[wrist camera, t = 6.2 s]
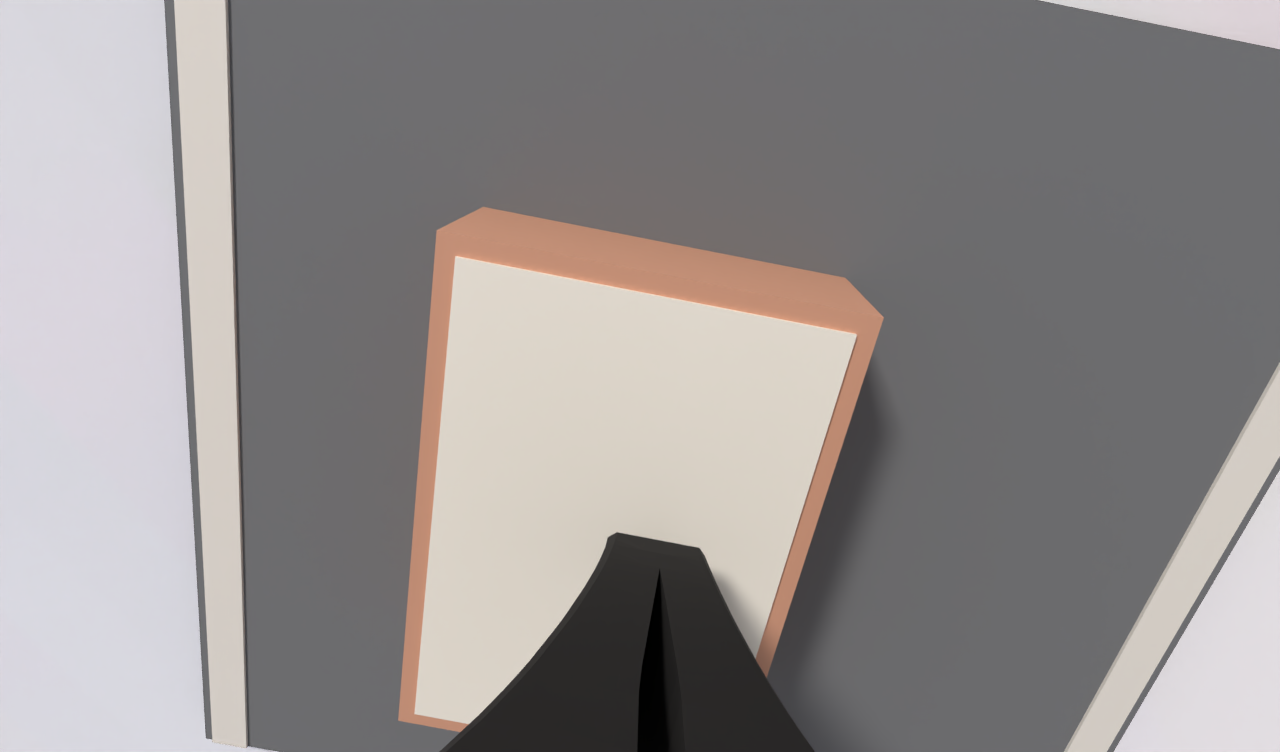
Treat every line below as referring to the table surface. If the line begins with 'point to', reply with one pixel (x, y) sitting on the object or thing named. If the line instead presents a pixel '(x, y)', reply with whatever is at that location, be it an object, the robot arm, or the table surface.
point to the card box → (612, 435)
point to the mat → (769, 232)
